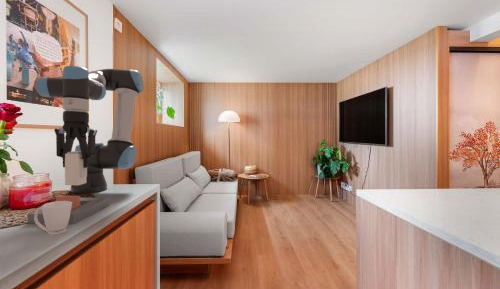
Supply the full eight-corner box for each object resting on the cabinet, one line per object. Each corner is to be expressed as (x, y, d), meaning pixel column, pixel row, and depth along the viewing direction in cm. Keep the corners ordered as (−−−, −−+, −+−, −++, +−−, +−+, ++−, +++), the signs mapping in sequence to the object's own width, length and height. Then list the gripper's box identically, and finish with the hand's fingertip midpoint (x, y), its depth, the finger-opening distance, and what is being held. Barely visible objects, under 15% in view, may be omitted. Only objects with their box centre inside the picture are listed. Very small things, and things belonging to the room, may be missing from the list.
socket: (71, 205, 96) (71, 197, 96) (108, 205, 97) (108, 197, 97) (27, 223, 76) (27, 213, 76) (73, 223, 77) (73, 214, 77)
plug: (65, 185, 85) (65, 151, 85) (73, 182, 90) (73, 151, 90) (78, 185, 86) (78, 152, 85) (86, 182, 90) (86, 151, 90)
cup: (59, 237, 67) (59, 207, 67) (23, 235, 67) (23, 206, 67) (78, 227, 74) (78, 200, 74) (45, 226, 74) (45, 200, 74)
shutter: (59, 205, 85) (59, 195, 85) (80, 205, 85) (80, 195, 85) (42, 212, 78) (42, 200, 78) (65, 212, 78) (65, 201, 78)
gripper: (42, 109, 83) (42, 178, 84) (95, 110, 84) (94, 178, 84) (58, 111, 90) (58, 174, 91) (107, 113, 91) (106, 175, 92)
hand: (76, 176), depth 88 cm, fingers closed on plug, 4 cm apart
